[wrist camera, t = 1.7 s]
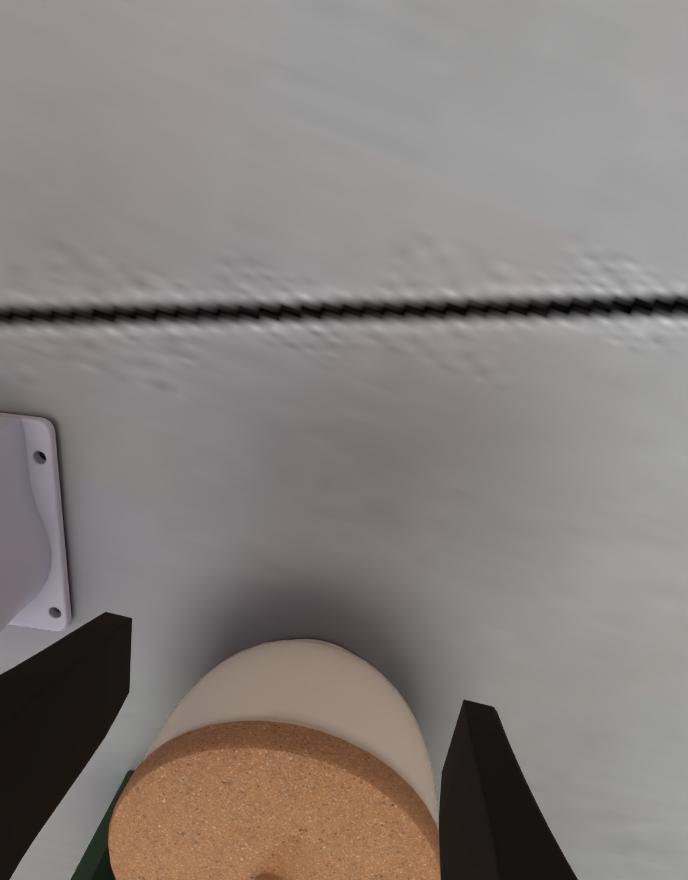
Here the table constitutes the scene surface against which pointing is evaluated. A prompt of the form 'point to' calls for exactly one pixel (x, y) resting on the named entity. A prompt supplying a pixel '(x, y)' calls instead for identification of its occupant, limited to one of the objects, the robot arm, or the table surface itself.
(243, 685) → the trinket box
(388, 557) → the table surface
